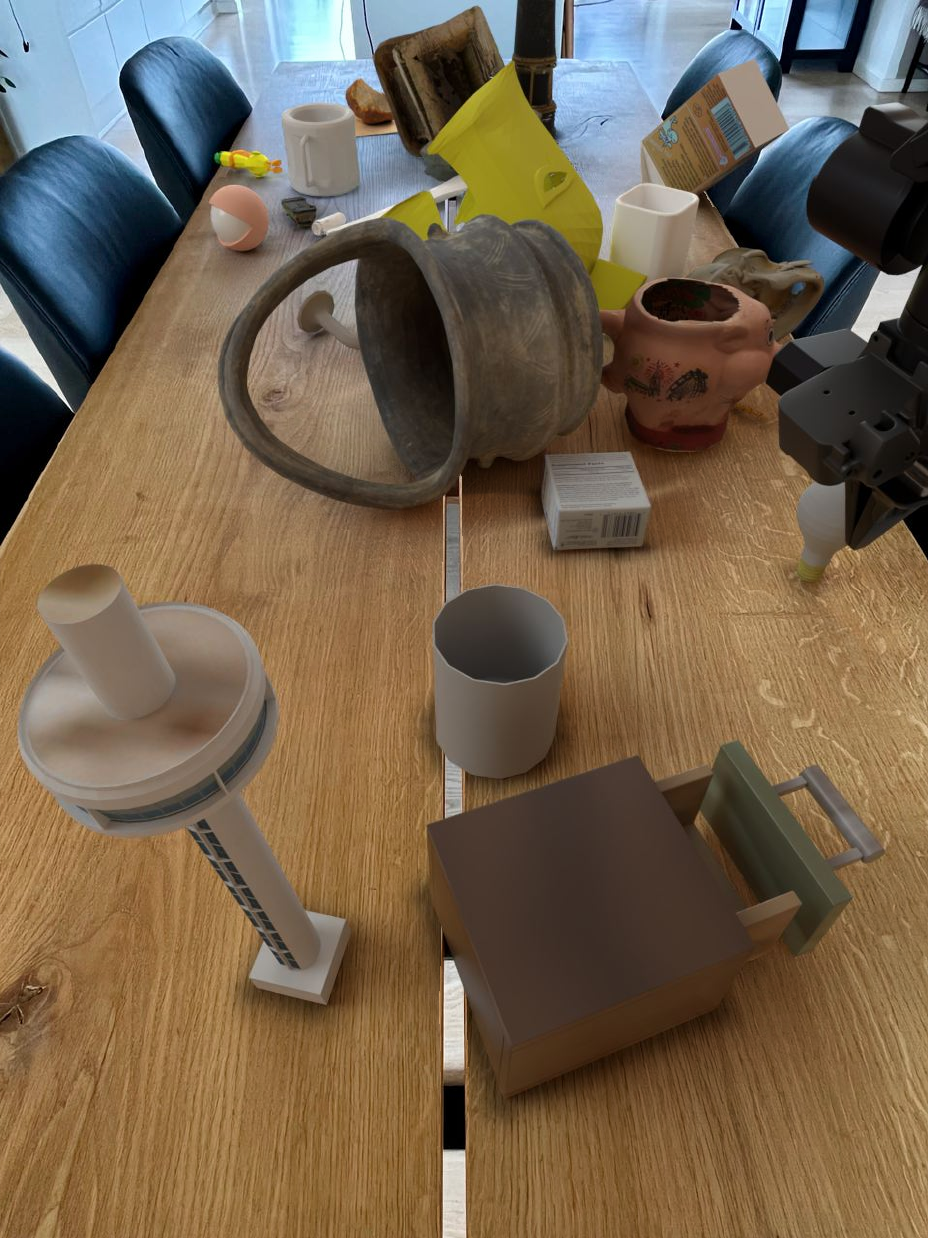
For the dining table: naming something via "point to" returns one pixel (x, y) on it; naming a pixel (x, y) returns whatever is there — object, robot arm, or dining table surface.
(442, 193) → the spatula
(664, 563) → the dining table surface
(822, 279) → the skull
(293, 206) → the dark green crate
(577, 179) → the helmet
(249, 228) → the toy ball
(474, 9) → the brown square vessel
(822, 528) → the light bulb
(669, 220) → the cup
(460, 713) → the cup
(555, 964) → the cabinet
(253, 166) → the toy figure
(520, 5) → the black tall cylinder
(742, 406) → the keychain
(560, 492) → the box
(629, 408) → the decorative planter
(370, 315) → the ancient clay pot
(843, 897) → the drawer
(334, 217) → the small white plastic part
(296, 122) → the mug
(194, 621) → the model tower
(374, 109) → the bread chunk
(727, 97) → the milk carton
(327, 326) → the toilet paper hanger
